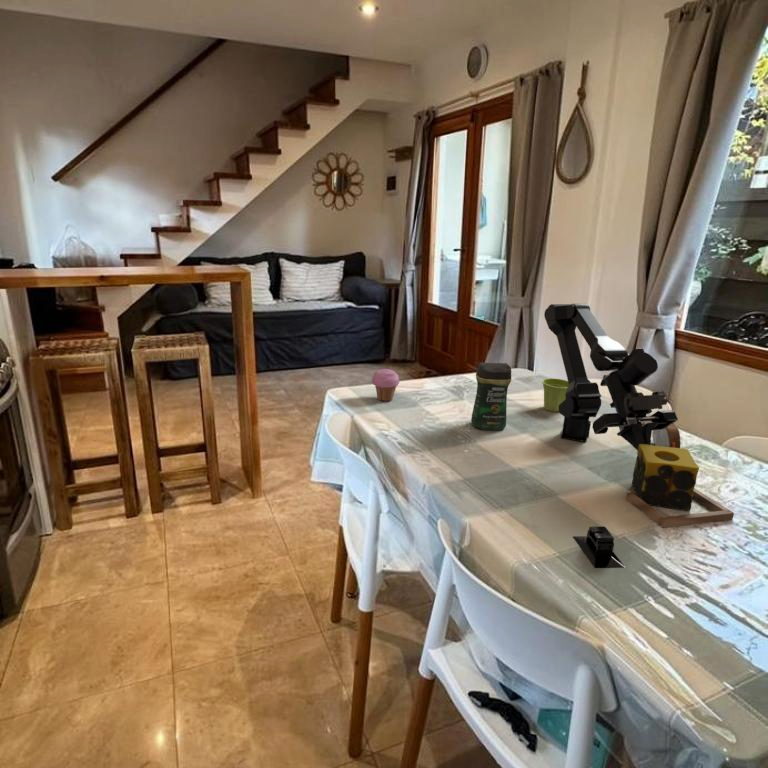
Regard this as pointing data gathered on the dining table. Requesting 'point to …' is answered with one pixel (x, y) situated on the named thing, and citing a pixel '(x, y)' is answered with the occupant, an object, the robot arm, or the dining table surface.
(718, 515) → the brown flat tray
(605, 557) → the black block on plate
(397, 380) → the cupcake
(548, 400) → the plant pot
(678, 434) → the tin
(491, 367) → the coffee jar
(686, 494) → the yellow holed cube
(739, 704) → the dining table surface
